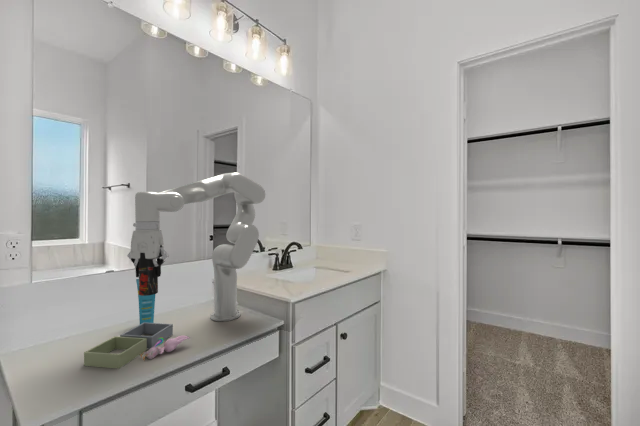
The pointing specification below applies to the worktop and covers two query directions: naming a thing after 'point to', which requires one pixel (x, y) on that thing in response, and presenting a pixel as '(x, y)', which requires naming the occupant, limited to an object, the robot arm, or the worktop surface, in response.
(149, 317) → the tube
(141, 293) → the deodorant
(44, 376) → the worktop surface
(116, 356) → the bin
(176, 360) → the worktop surface
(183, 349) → the worktop surface
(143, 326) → the bin
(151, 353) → the pink toy figurine
